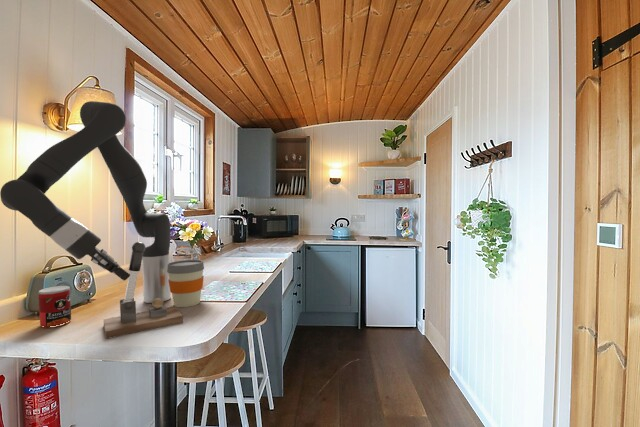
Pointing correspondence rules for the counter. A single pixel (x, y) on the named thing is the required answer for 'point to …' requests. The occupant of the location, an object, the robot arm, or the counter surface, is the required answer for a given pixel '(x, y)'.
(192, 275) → the reusable coffee cup
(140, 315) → the nutcracker bench
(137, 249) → the lever
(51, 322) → the canned food
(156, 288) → the robot arm
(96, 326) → the counter surface
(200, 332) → the counter surface
